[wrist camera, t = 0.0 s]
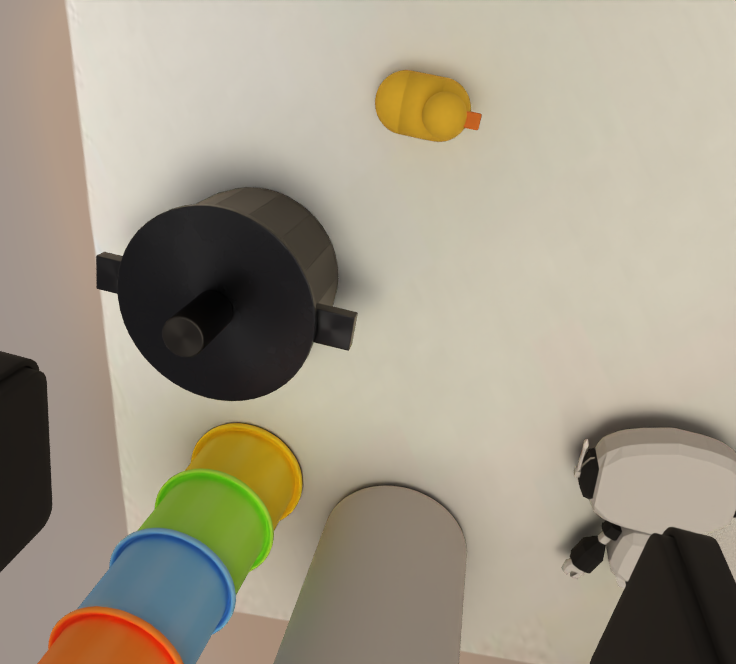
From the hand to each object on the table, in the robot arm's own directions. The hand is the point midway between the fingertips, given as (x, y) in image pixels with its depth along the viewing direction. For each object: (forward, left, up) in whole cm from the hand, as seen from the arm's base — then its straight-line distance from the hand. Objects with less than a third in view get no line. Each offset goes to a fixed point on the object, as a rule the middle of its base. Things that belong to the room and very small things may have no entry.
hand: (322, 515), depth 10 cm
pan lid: (+11, -13, -29) cm, 33 cm away
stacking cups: (+30, -12, -37) cm, 49 cm away
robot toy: (+22, +20, -37) cm, 48 cm away
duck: (-3, -3, -37) cm, 37 cm away
